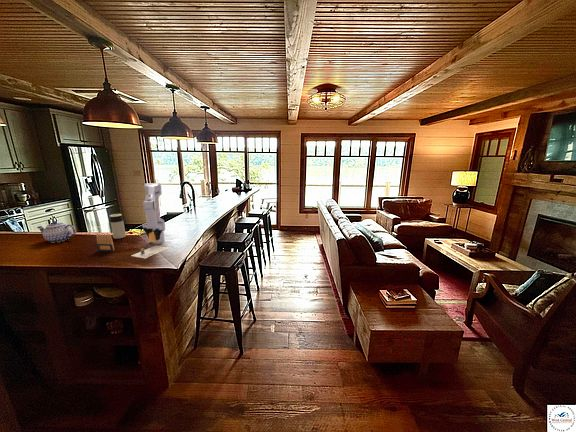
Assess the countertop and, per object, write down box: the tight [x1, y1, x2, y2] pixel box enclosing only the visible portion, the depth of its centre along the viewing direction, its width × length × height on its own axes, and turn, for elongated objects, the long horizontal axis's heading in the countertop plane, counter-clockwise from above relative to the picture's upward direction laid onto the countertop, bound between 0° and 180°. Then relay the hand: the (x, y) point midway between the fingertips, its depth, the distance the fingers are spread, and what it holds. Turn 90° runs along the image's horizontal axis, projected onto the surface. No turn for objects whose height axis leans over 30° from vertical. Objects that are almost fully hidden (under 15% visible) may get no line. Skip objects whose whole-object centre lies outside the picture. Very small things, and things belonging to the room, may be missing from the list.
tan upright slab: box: [96, 233, 116, 253], centre depth 151 cm, size 11×2×12 cm, turn 87°
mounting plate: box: [131, 245, 168, 259], centre depth 148 cm, size 12×18×5 cm, turn 162°
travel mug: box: [109, 213, 127, 240], centre depth 176 cm, size 8×8×18 cm
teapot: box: [36, 220, 77, 244], centre depth 168 cm, size 25×15×15 cm, turn 93°
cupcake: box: [148, 232, 158, 243], centre depth 148 cm, size 6×6×5 cm
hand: (154, 239), depth 148 cm, fingers closed on cupcake, 5 cm apart
